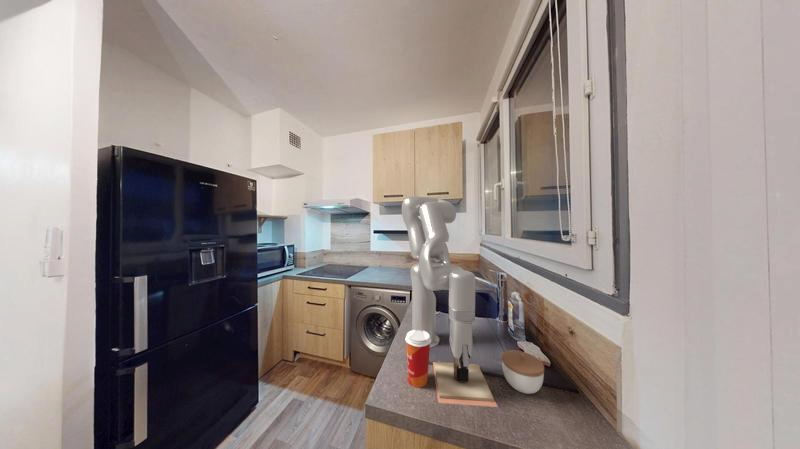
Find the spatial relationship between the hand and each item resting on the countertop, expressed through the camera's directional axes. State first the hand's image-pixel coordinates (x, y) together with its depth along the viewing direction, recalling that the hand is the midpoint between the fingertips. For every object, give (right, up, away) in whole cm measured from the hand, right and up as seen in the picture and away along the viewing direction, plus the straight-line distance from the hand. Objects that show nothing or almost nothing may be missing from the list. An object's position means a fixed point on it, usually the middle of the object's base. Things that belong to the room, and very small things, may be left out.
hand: (460, 374), depth 64 cm
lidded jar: (+17, -3, -1) cm, 18 cm away
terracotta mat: (0, -3, 0) cm, 3 cm away
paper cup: (-13, -3, 0) cm, 13 cm away
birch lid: (0, -2, 0) cm, 2 cm away
